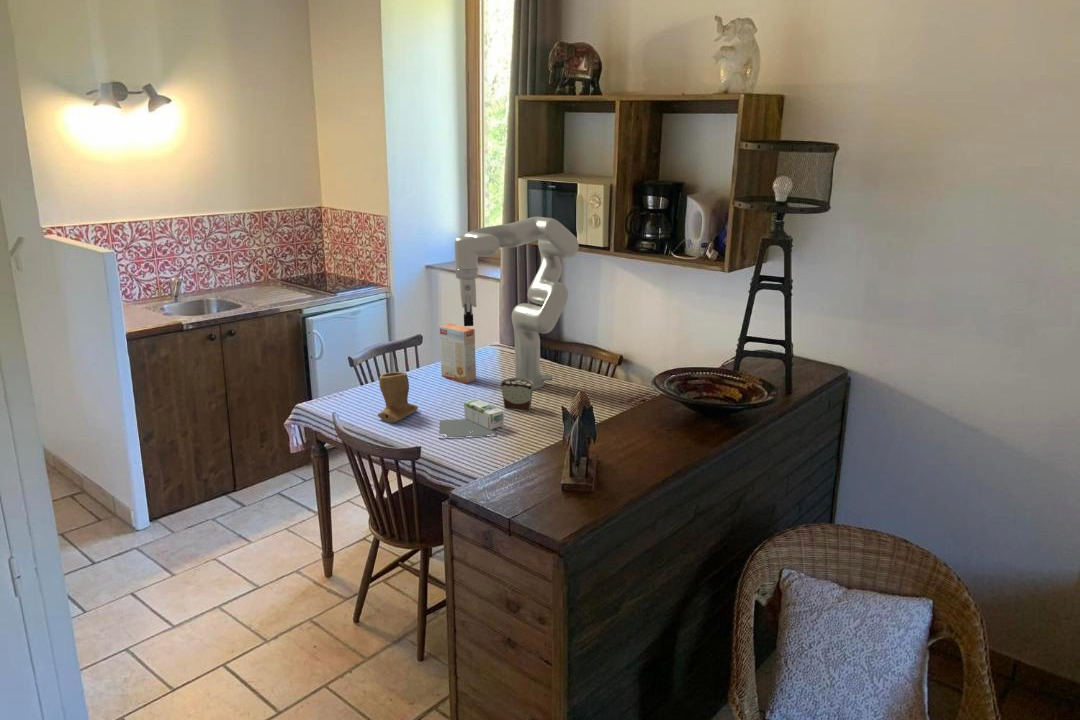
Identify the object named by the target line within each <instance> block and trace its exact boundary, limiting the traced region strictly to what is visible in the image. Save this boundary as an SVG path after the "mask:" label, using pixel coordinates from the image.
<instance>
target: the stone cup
mask: <svg viewBox="0 0 1080 720" xmlns="http://www.w3.org/2000/svg"><path fill="white" fill-rule="evenodd" d="M378 379H379V380H378V382H379V384H378V385H379V389H380V392H381V393H382V397H383V399H384V403H385V408H384V409H383V410H382V411H380V412H379V413H377V417H378V418H380V419H381V420H383V421H385V422H386V423H387V422H388V423H396V422H398V421H400V420H402V419H404V418H406V417H408V416H409V415H411V414H413V413H415V412H416V411H417V410H418V409H419V406H417V405H414V404H411V403H409V402H408V397H409V391H410V384H409V383H410V382H409V381H410V380H409V377H408V374H407V373H406V372H404V371H394V372H393V371H392V372H387V373H384V374H381V375H380V376H379V378H378Z"/></svg>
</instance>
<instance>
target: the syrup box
mask: <svg viewBox="0 0 1080 720" xmlns="http://www.w3.org/2000/svg"><path fill="white" fill-rule="evenodd" d="M463 409H464V410H463V411H464V419H468V420H470V421H472V422H475V423H477V424H479V425H481V426H483V427H485V428H488V429H490V430H492V429H495V430H496V429H497V428H501V427H503V426H504V423H505V415H504V409H501V408H499V407H496V406H494V405H491V404H490V403H487V402H484V401H482V400H480V399H478V398H475V399H473V400H468V401H465V402H464V403H463Z"/></svg>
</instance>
